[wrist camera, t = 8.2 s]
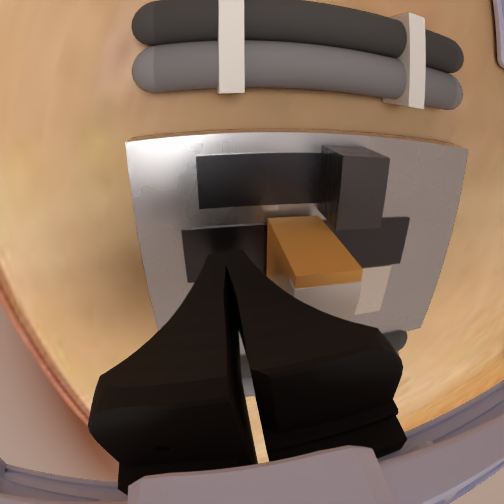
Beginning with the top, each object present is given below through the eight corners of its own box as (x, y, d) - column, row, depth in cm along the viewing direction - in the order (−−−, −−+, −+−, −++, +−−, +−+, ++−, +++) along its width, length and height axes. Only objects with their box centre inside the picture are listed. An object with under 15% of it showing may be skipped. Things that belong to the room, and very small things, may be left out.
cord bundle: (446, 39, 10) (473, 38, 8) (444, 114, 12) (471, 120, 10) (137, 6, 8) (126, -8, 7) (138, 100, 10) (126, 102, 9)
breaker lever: (318, 215, 12) (364, 270, 8) (311, 284, 14) (345, 349, 10) (267, 218, 12) (295, 277, 8) (265, 288, 13) (287, 359, 10)
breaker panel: (452, 143, 13) (496, 160, 10) (411, 316, 18) (436, 349, 15) (132, 137, 11) (109, 152, 8) (168, 347, 16) (165, 393, 14)
